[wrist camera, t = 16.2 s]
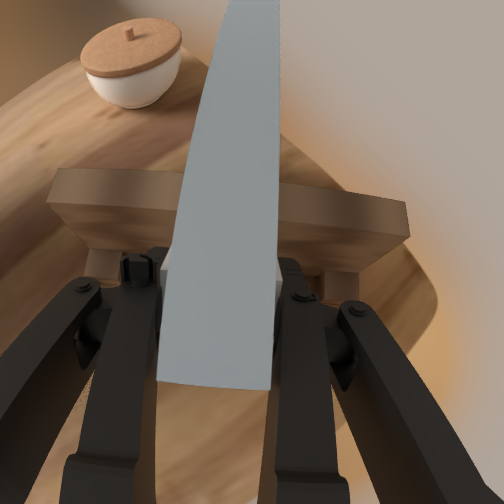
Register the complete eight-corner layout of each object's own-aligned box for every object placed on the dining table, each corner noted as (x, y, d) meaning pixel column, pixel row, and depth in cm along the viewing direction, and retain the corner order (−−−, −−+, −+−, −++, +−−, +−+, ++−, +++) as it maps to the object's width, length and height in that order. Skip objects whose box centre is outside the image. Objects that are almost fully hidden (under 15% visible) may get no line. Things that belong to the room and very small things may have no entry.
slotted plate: (231, 368, 23) (270, 390, 6) (199, 365, 23) (156, 380, 6) (246, 168, 29) (279, -6, 13) (220, 165, 29) (233, -12, 12)
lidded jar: (79, 107, 30) (57, 48, 22) (137, 58, 34) (129, 1, 25) (143, 136, 30) (126, 67, 21) (202, 80, 33) (203, 15, 24)
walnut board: (92, 281, 24) (35, 238, 15) (108, 207, 27) (69, 139, 17) (349, 304, 26) (414, 273, 17) (346, 229, 28) (399, 172, 19)
